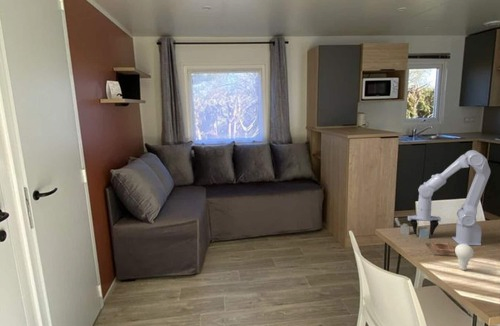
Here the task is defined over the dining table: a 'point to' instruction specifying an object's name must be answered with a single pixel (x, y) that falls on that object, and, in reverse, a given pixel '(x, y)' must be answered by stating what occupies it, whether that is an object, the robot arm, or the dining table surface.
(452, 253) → the base plate
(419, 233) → the block
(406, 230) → the lighter
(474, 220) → the robot arm
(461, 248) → the lightbulb
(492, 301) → the dining table surface
